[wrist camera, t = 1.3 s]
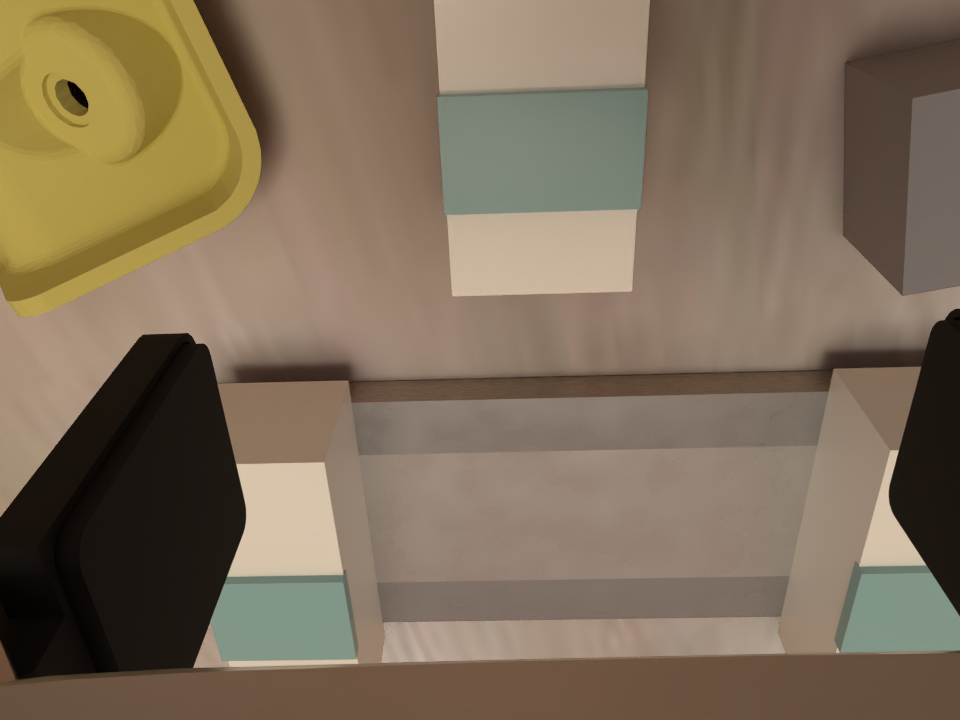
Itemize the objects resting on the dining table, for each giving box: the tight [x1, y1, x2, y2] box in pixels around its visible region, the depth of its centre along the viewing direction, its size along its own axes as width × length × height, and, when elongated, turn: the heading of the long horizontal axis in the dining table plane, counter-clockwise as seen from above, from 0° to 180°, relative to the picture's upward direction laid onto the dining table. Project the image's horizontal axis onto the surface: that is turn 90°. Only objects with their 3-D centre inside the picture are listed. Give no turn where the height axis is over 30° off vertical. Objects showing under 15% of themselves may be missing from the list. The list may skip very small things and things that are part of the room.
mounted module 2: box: [778, 367, 960, 654], centre depth 31 cm, size 5×14×5 cm, turn 2°
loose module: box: [434, 0, 650, 296], centre depth 24 cm, size 5×8×7 cm, turn 2°
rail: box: [349, 370, 833, 622], centre depth 34 cm, size 30×12×2 cm, turn 92°
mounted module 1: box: [210, 381, 385, 667], centre depth 32 cm, size 5×14×5 cm, turn 2°
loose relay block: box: [843, 39, 960, 296], centre depth 25 cm, size 5×6×5 cm
